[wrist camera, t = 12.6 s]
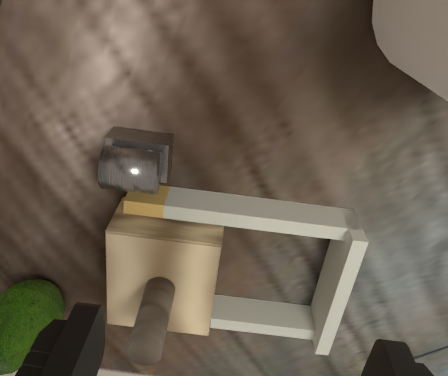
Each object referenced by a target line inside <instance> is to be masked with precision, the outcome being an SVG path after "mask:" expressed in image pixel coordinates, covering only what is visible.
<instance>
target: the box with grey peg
mask: <svg viewBox="0 0 448 376" xmlns="http://www.w3.org/2000/svg"><path fill="white" fill-rule="evenodd" d="M124 199H125V197H123V198H122V200H121V201H120V203H119V205H118V207H117V209H116V211H115V213H114V215H113V217H112V219H111V221H110V223H109V225H108V227H107V229H106V230H105V234H106V276H107V322H108V324H114V325H122V326H131V327H133V330H132V333H131V336H130V340H129V343H128V346H127V349H126V354H127V356H128V358H129V359H130V360H131V361H133V362H134V363H137V364H140V365H153V364H155V363H157V362H158V361H159V360H160V359H161V356H162V351H163V346H164V341H165V337H166V332H167V331H173V332H181V333H190V334H198V335H207V336H208V334H209V333H210V324H211V313H212V306H213V300H214V293H215V286H216V279H217V272H218V265H219V258H220V252H221V251H222V243H223V230H224V226H222V225H214V224H206V223H198V222H189V221H181V220H173V219H165V218H157V217H149V216H141V215H133V214H125V213H123V210H124Z"/></svg>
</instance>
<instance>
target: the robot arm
mask: <svg viewBox="0 0 448 376" xmlns="http://www.w3.org/2000/svg"><path fill="white" fill-rule="evenodd" d="M0 4H1V0H0ZM104 348H105V317H104V306H103V305H97V304H89V303H80V302H77V303H76V304H75V305H74V307H73V309H72V311H71V313H70V315H69V317H68V319H67V320H59V319H54V320H53V321H51V322H50V323H49V324H48V325H47V326H46V327H45V328H44V329H42V330H41V331H40V332H39V333H38V335H37V337H36V339H35V341H34V342H33V344H32V346H31V348H30V351H29V353H27V355H26V357H25V359H24V360H23V362H22V366H21V367H20V368H19V369H18V371H17V373H16V375H15V376H97V373H98V370H99V367H100V365H101V361H102V358H103V353H104ZM361 376H434V375H433V374H432V373H431V372H430V371H429V369H428V368H427V367H426V366H425V365H424V364H422V363H415V361H414V358H413V356H412V354H411V351H410V349H409V347H408V345H407V344H406V343H404V342H399V341H390V340H382V339H378V340H376V342H375V343H374V346H373V348H372V350H371V353H370V355H369V357H368V360H367V362H366V364H365V367H364V369H363V371H362V375H361Z"/></svg>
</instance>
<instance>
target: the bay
mask: <svg viewBox="0 0 448 376" xmlns="http://www.w3.org/2000/svg"><path fill="white" fill-rule="evenodd" d="M123 213H125V214H133V215H141V216H149V217H157V218H165V219H173V220H181V221H189V222H198V223H206V224H214V225H222V226H230V227H238V228H246V229H254V230H262V231H270V232H278V233H286V234H294V235H302V236H310V237H318V238H326V239H331V240H330V243H329V246H328V250H327V253H326V256H325V260H324V263H323V266H322V270H321V273H320V276H319V280H318V283H317V286H316V290H315V293H314V296H313V299H312V303H311V306H308V305H300V304H291V303H283V302H275V301H266V300H258V299H250V298H242V297H233V296H225V295H217V294H214V300H213V306H212V313H211V324H210V328H218V329H227V330H235V331H243V332H252V333H260V334H269V335H277V336H285V337H294V338H302V339H311V340H313V345H314V350H315V354H321V355H328V354H329V352H330V349H331V346H332V343H333V340H334V338H335V335H336V332H337V329H338V326H339V324H340V321H341V318H342V315H343V312H344V310H345V307H346V304H347V301H348V298H349V296H350V293H351V290H352V287H353V284H354V282H355V279H356V276H357V273H358V270H359V268H360V265H361V262H362V259H363V257H364V254H365V251H366V248H367V245H368V243H369V242H368V240H367V238H366V236H365V233H364V231H363V229H362V227H361V224H360V222H359V220H358V218H357V215H356V213H355V211H354V209H346V208H338V207H330V206H322V205H314V204H306V203H298V202H290V201H282V200H275V199H267V198H259V197H251V196H243V195H235V194H227V193H219V192H211V191H203V190H195V189H187V188H179V187H171V186H163V185H160V187H159V191H158V193H157V195H151V194H143V193H135V192H128V193H127V195H126V197H125V199H124V210H123Z"/></svg>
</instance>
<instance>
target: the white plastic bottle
mask: <svg viewBox="0 0 448 376" xmlns="http://www.w3.org/2000/svg"><path fill="white" fill-rule="evenodd" d="M372 26H373V30H374V34H375V38H376V41H377V45H378V46H379V48H380V49H381V51H382V52H383V54H384V55H385V57H386V58H387V59H388V61H389V62H390V63H391V64H393V65H394V66H396V67H397V68H399V69H400V70H402V71H403V72H405V73H406V74H408V75H409V76H411V77H412V78H414V79H415V80H417V81H418V82H420V83H421V84H422V85H424V86H425V87H427V88H428V89H430V90H431V91H433V92H434V93H436V94H437V95H439V96H440V97H442V98H443V99H445V100H446V101H448V0H373V10H372Z"/></svg>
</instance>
